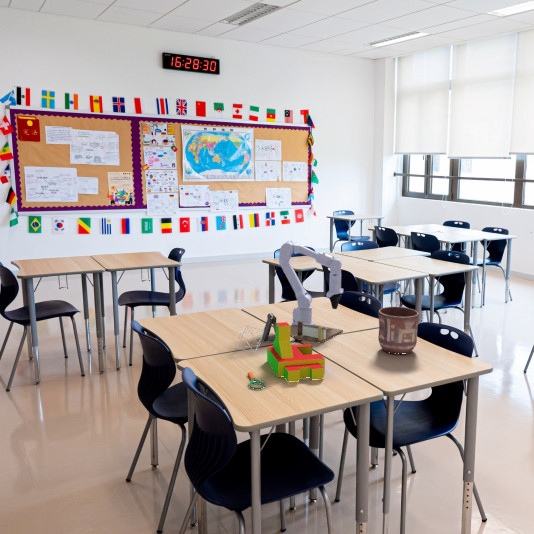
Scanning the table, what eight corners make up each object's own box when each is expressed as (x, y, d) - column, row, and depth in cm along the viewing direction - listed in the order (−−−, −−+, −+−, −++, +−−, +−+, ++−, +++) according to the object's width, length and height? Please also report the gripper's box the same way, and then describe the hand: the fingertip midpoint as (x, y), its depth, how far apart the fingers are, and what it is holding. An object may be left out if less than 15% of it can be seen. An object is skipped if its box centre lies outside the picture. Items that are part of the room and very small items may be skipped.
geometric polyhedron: (266, 352, 251) (266, 332, 249) (242, 354, 247) (242, 334, 246) (257, 343, 262) (257, 324, 261) (234, 346, 259) (234, 326, 258)
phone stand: (279, 336, 273) (279, 312, 270) (282, 340, 267) (282, 315, 265) (261, 338, 271) (261, 313, 269) (263, 341, 265) (263, 316, 263)
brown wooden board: (293, 337, 271) (293, 322, 270) (316, 327, 289) (316, 312, 288) (320, 343, 263) (321, 327, 261) (342, 331, 281) (343, 317, 279)
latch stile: (318, 340, 264) (318, 326, 263) (319, 339, 265) (319, 326, 264) (321, 340, 263) (321, 327, 262) (322, 340, 264) (322, 326, 263)
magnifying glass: (267, 389, 209) (267, 385, 209) (251, 391, 208) (251, 387, 208) (257, 375, 224) (257, 371, 224) (242, 376, 222) (242, 372, 222)
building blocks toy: (282, 384, 215) (282, 337, 211) (267, 362, 239) (267, 319, 235) (329, 380, 219) (330, 334, 216) (310, 358, 243) (310, 317, 240)
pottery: (368, 350, 253) (370, 311, 249) (390, 341, 265) (392, 304, 261) (403, 360, 240) (405, 319, 237) (424, 350, 253) (427, 311, 249)
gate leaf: (302, 335, 271) (302, 324, 270) (304, 334, 272) (304, 323, 271) (323, 339, 264) (324, 328, 263) (325, 338, 265) (326, 327, 264)
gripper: (335, 285, 278) (334, 312, 280) (349, 280, 290) (348, 306, 292) (322, 284, 282) (322, 310, 284) (336, 279, 293) (336, 304, 296)
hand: (334, 308), depth 288 cm, fingers closed
